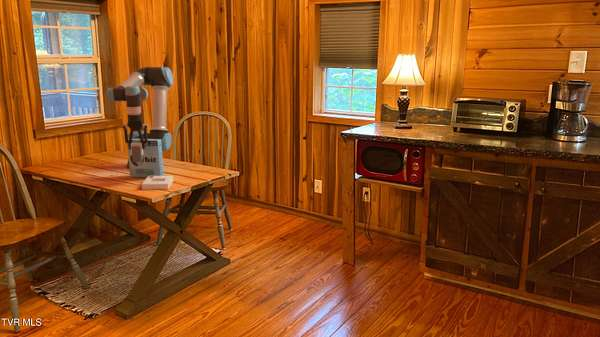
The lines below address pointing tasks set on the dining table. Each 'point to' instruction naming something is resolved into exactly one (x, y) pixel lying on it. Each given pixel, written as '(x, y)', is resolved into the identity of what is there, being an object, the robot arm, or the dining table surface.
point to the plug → (136, 152)
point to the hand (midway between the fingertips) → (137, 154)
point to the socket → (157, 182)
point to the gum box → (147, 159)
